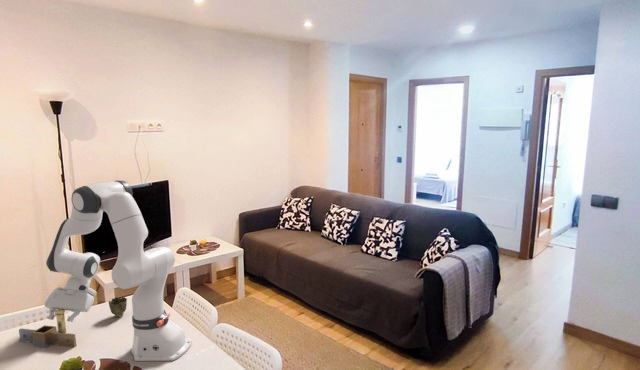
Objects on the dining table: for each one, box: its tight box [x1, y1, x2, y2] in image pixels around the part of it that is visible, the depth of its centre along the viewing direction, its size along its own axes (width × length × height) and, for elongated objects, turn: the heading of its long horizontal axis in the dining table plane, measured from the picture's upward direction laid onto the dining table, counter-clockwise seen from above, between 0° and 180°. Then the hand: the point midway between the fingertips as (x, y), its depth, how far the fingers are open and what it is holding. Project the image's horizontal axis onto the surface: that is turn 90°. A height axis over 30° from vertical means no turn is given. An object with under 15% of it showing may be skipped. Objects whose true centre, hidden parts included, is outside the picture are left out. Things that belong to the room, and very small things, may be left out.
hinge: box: [18, 324, 77, 349], centre depth 155 cm, size 26×6×6 cm, turn 80°
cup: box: [108, 296, 128, 319], centre depth 177 cm, size 8×7×8 cm
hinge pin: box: [54, 309, 67, 333], centre depth 163 cm, size 4×4×10 cm
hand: (59, 320), depth 162 cm, fingers open, 8 cm apart
